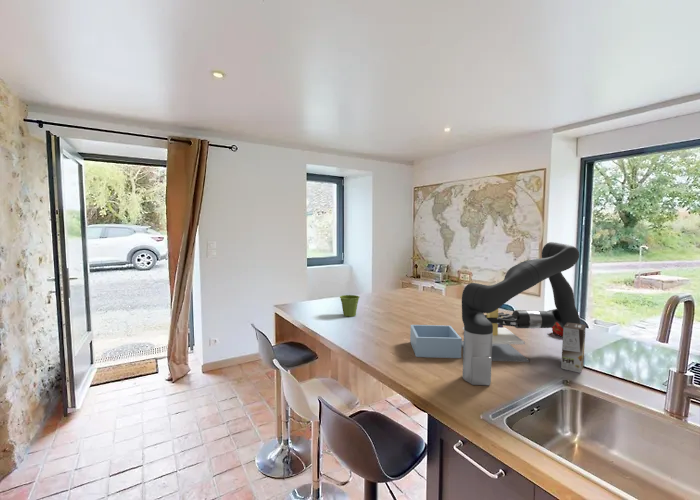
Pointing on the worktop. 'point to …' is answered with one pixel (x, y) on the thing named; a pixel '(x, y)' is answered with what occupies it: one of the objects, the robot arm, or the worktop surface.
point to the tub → (435, 341)
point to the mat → (505, 353)
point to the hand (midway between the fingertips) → (485, 318)
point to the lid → (502, 333)
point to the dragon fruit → (557, 329)
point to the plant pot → (349, 304)
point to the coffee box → (573, 347)
